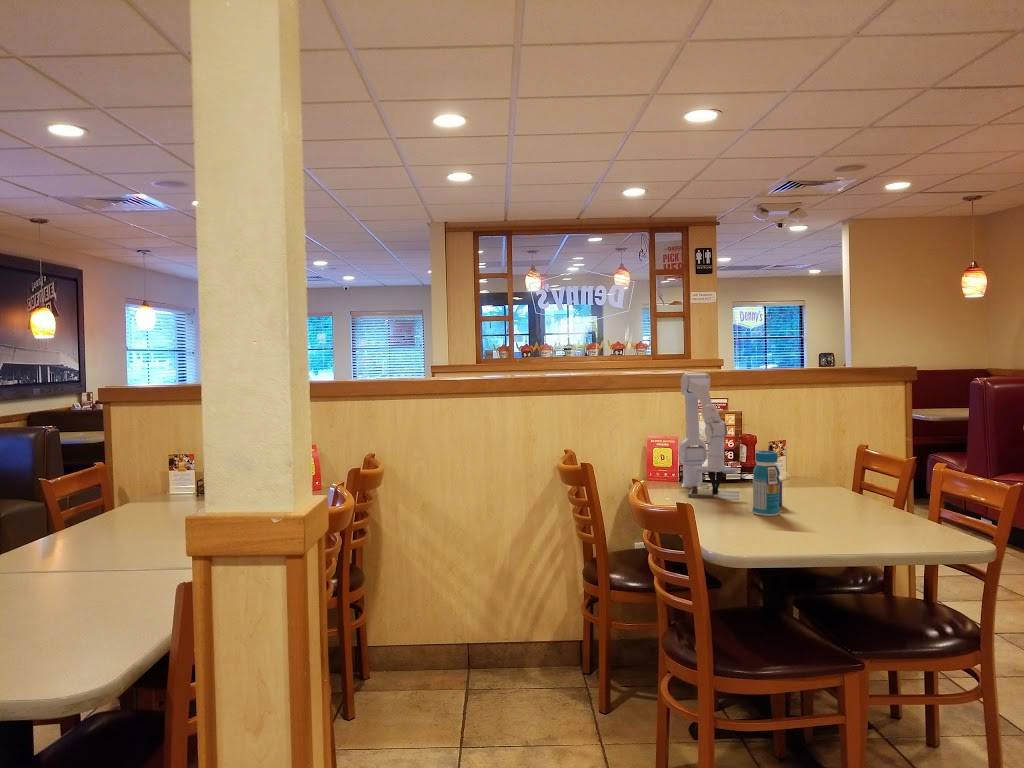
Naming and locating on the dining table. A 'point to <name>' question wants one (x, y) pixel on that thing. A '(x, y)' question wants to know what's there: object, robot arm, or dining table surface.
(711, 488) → the pot
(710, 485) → the twin pot
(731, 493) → the rack
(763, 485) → the beverage bottle
